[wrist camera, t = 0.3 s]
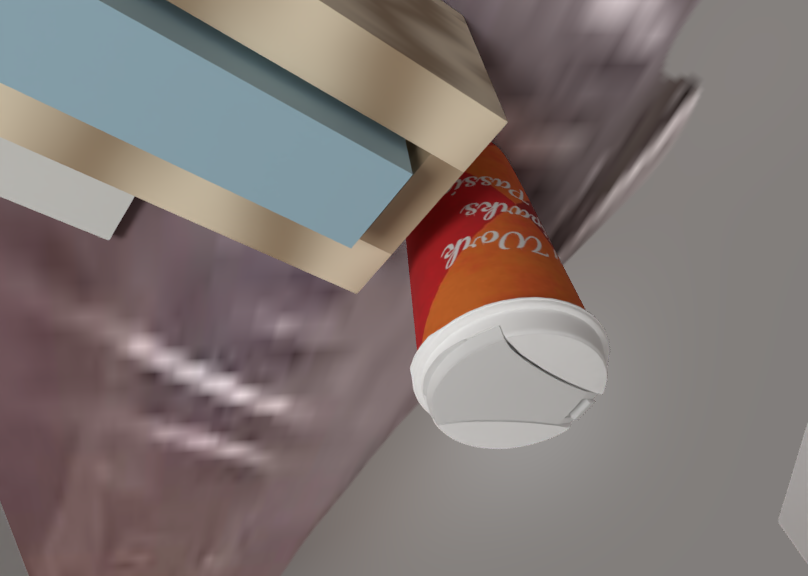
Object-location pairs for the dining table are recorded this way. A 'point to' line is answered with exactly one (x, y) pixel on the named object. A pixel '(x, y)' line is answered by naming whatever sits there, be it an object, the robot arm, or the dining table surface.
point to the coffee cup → (498, 317)
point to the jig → (337, 76)
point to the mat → (60, 191)
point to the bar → (205, 107)
